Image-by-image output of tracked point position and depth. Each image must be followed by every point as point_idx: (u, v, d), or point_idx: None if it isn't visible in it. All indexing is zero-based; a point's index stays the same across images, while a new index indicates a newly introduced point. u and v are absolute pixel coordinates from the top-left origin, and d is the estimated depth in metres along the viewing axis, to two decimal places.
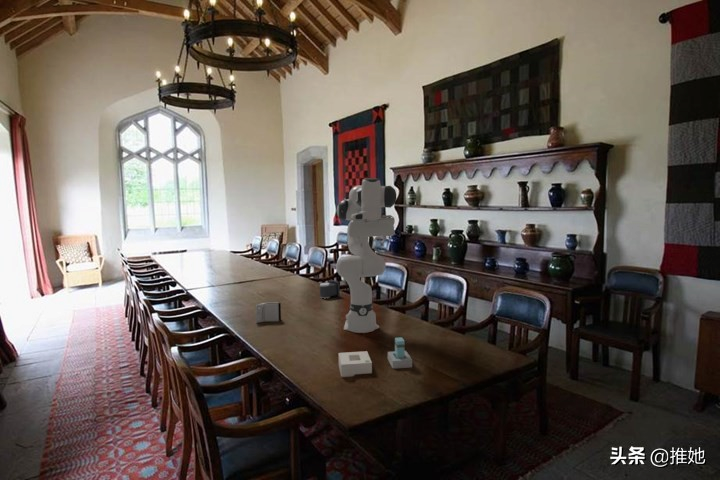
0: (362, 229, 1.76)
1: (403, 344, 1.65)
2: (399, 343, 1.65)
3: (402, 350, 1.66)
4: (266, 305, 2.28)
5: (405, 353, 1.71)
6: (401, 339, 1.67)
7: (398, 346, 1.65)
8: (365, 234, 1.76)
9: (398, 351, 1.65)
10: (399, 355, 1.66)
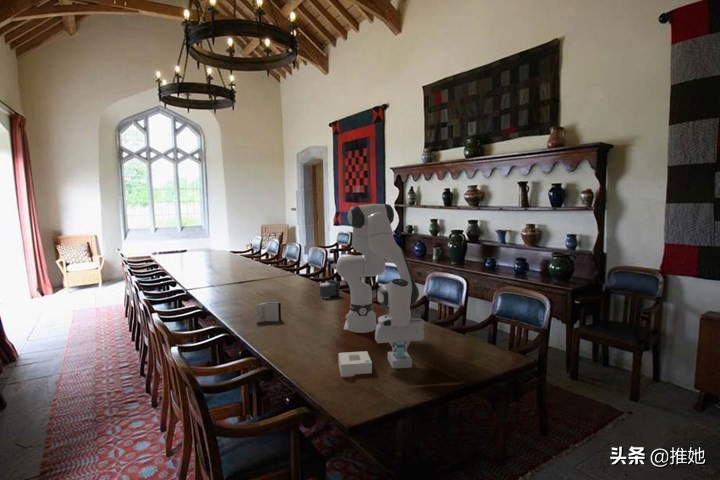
0: (390, 334, 1.65)
1: (403, 344, 1.65)
2: (399, 343, 1.65)
3: (402, 350, 1.66)
4: (266, 305, 2.28)
5: (405, 353, 1.71)
6: None
7: (398, 346, 1.65)
8: (393, 340, 1.65)
9: (398, 351, 1.65)
10: (399, 355, 1.66)
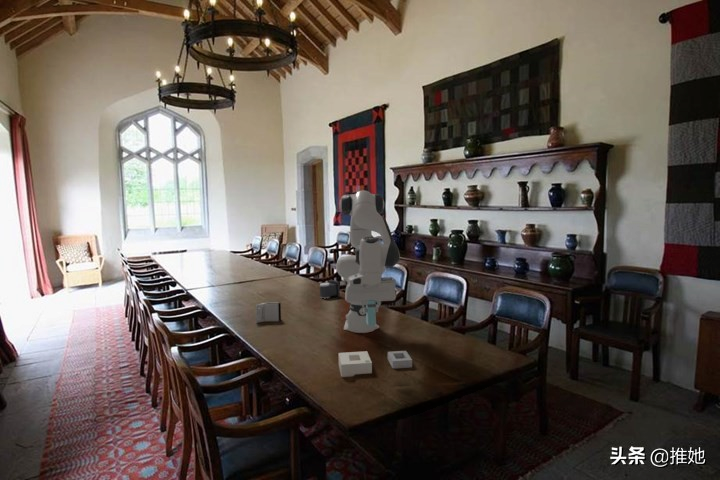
0: (360, 294, 1.60)
1: (374, 303, 1.60)
2: (370, 303, 1.60)
3: (373, 310, 1.61)
4: (266, 305, 2.28)
5: (405, 353, 1.71)
6: None
7: (369, 306, 1.60)
8: (364, 299, 1.60)
9: (369, 311, 1.60)
10: (370, 315, 1.61)
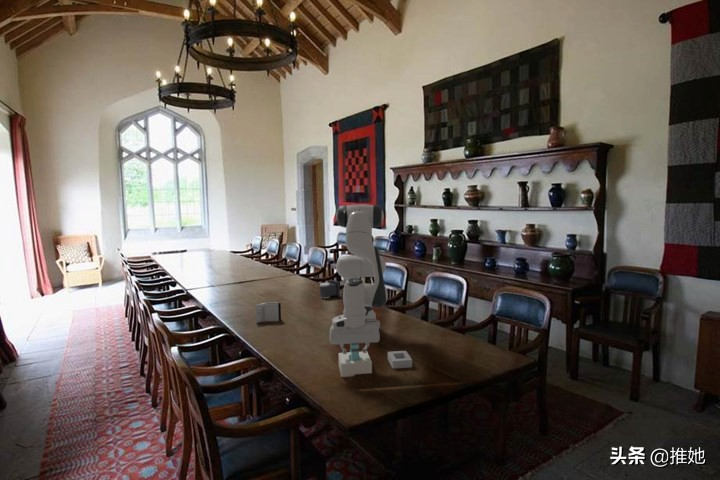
0: (344, 336, 1.60)
1: (358, 348, 1.61)
2: (353, 347, 1.60)
3: (356, 354, 1.61)
4: (266, 305, 2.28)
5: (405, 353, 1.71)
6: (356, 343, 1.63)
7: (352, 350, 1.61)
8: (347, 341, 1.60)
9: (352, 355, 1.61)
10: (353, 359, 1.61)
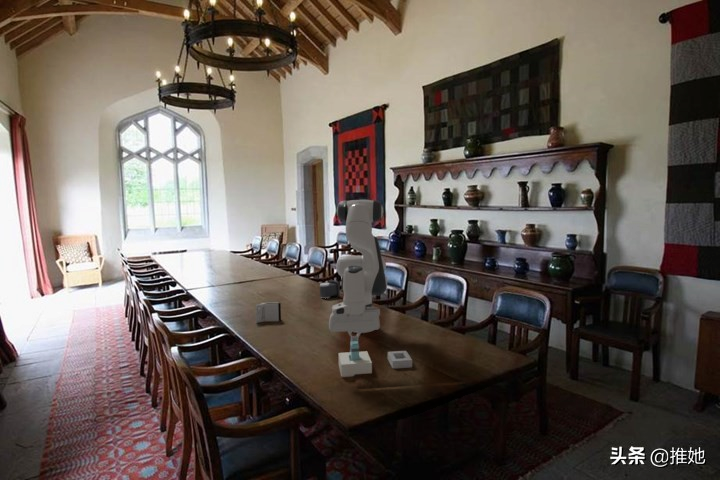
0: (344, 323, 1.59)
1: (358, 348, 1.61)
2: (353, 347, 1.60)
3: (356, 354, 1.61)
4: (266, 305, 2.28)
5: (405, 353, 1.71)
6: (356, 343, 1.63)
7: (352, 350, 1.61)
8: (347, 329, 1.60)
9: (352, 355, 1.61)
10: (353, 359, 1.61)
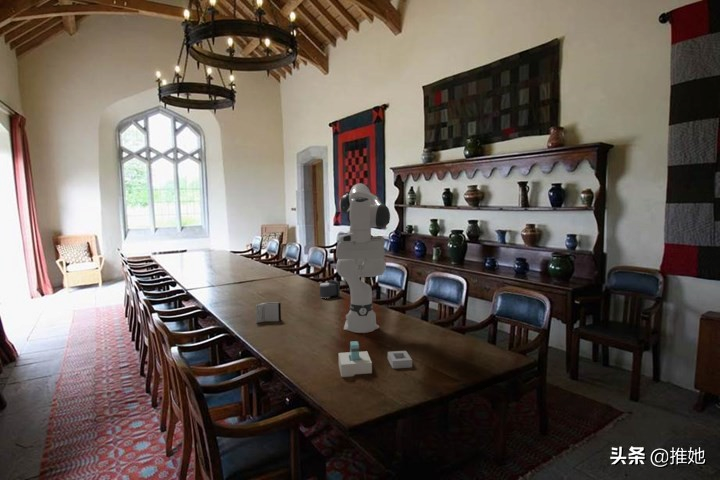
0: (350, 251, 1.67)
1: (358, 348, 1.61)
2: (353, 347, 1.60)
3: (356, 354, 1.61)
4: (266, 305, 2.28)
5: (405, 353, 1.71)
6: (356, 343, 1.63)
7: (352, 350, 1.61)
8: (354, 256, 1.67)
9: (352, 355, 1.61)
10: (353, 359, 1.61)
